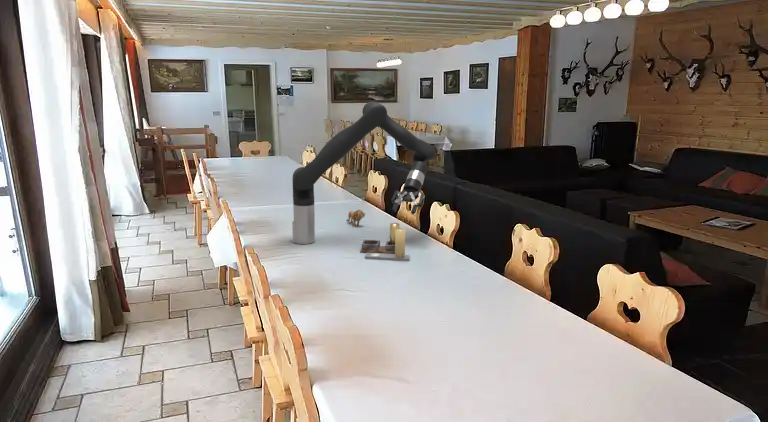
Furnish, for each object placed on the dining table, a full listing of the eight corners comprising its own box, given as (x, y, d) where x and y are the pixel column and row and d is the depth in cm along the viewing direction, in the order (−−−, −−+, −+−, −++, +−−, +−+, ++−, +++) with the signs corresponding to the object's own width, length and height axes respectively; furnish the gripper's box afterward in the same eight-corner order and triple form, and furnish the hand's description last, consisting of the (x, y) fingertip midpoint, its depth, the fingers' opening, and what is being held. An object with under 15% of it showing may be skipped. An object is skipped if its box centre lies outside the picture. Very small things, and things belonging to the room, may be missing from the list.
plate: (364, 258, 204) (365, 230, 202) (366, 255, 209) (366, 227, 207) (409, 261, 203) (410, 232, 200) (409, 257, 208) (410, 229, 205)
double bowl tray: (360, 252, 212) (360, 244, 212) (362, 247, 220) (362, 239, 219) (402, 254, 211) (403, 246, 210) (404, 249, 219) (404, 241, 218)
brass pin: (389, 250, 213) (389, 224, 211) (390, 247, 217) (390, 222, 215) (398, 250, 213) (399, 225, 210) (399, 247, 217) (399, 222, 214)
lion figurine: (366, 227, 254) (366, 209, 252) (357, 228, 250) (358, 211, 248) (350, 221, 265) (350, 204, 263) (341, 222, 262) (341, 205, 260)
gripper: (397, 176, 226) (385, 205, 219) (427, 178, 220) (416, 209, 213) (401, 185, 232) (390, 215, 225) (431, 188, 226) (420, 219, 219)
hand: (403, 212), depth 219 cm, fingers open, 8 cm apart
